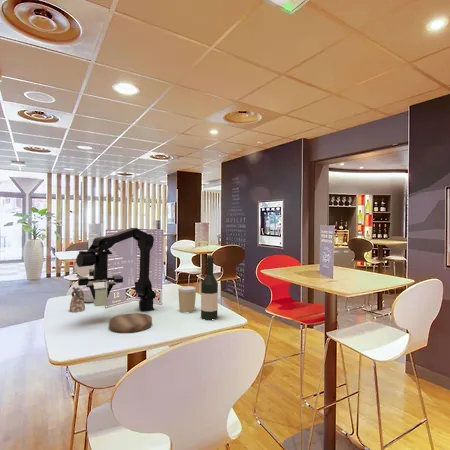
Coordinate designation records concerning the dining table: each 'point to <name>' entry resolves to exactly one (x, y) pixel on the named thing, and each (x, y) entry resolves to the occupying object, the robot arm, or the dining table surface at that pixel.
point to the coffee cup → (187, 298)
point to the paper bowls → (89, 293)
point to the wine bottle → (209, 293)
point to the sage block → (100, 297)
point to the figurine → (77, 300)
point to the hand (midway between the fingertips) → (100, 299)
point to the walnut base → (130, 323)
